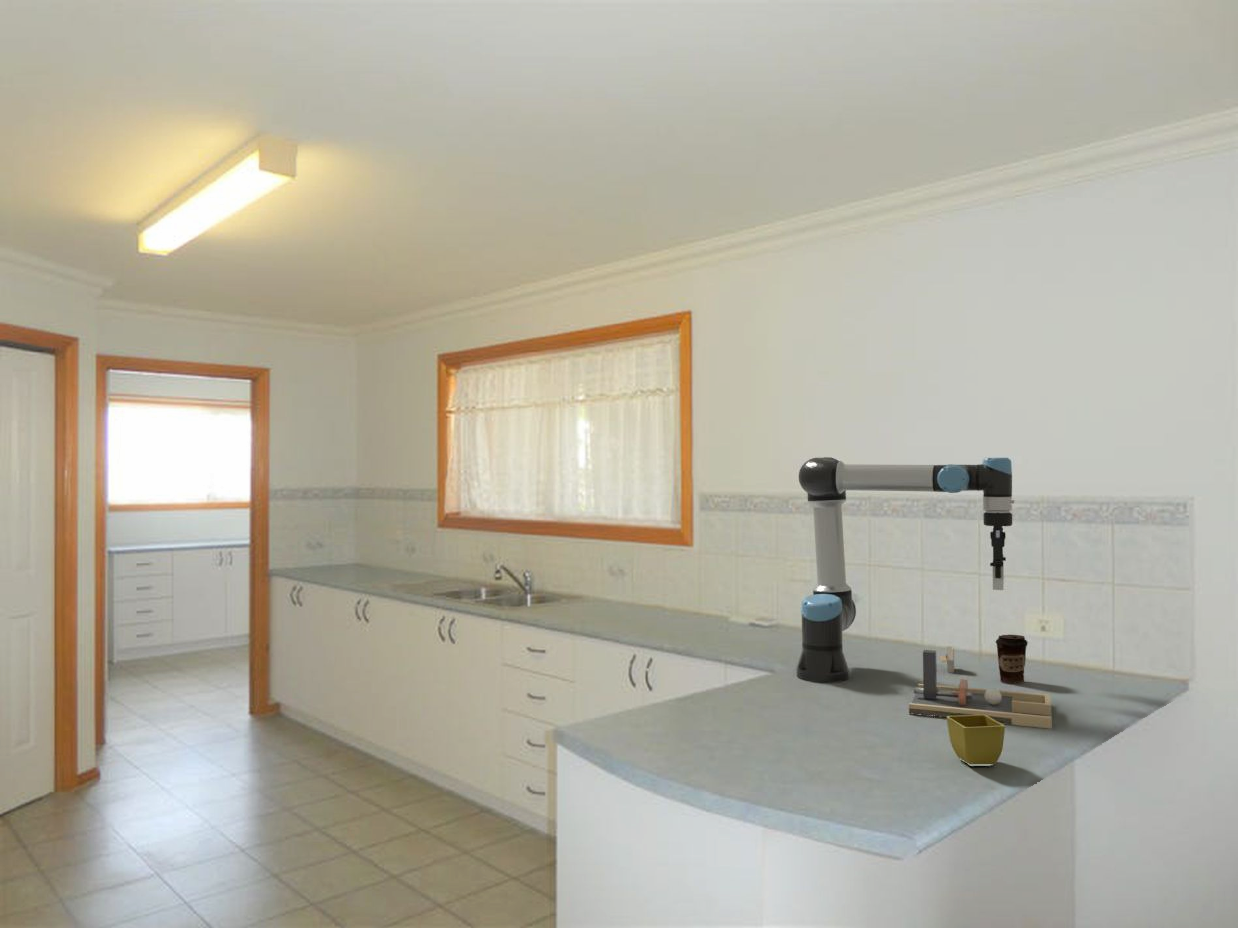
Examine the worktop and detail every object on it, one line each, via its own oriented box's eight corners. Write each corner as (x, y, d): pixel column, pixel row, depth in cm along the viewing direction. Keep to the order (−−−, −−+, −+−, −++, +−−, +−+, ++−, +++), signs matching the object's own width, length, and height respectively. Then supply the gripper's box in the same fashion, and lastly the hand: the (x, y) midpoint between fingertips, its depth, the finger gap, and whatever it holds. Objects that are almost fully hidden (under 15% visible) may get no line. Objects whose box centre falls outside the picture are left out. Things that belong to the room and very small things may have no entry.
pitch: (909, 714, 219) (908, 698, 219) (918, 692, 239) (918, 678, 239) (1051, 728, 206) (1051, 711, 206) (1049, 704, 226) (1049, 689, 226)
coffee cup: (1032, 686, 244) (1031, 639, 244) (1000, 685, 246) (999, 638, 246) (1024, 678, 253) (1023, 633, 253) (993, 677, 255) (992, 632, 255)
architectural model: (942, 673, 262) (941, 648, 262) (941, 668, 269) (940, 643, 269) (954, 673, 261) (953, 648, 261) (952, 668, 268) (952, 644, 268)
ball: (984, 705, 220) (983, 689, 220) (984, 701, 224) (984, 686, 224) (1001, 707, 219) (1001, 691, 219) (1001, 703, 222) (1001, 687, 222)
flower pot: (946, 757, 187) (945, 715, 187) (985, 755, 188) (984, 713, 188) (965, 771, 178) (965, 727, 178) (1006, 769, 179) (1006, 725, 179)
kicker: (912, 700, 225) (911, 653, 225) (916, 691, 233) (915, 646, 233) (970, 705, 219) (970, 657, 219) (972, 697, 228) (972, 650, 228)
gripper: (1012, 514, 236) (1013, 593, 236) (1012, 509, 259) (1012, 581, 259) (982, 514, 239) (982, 591, 239) (984, 509, 262) (985, 580, 262)
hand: (998, 586), depth 249 cm, fingers open, 13 cm apart
